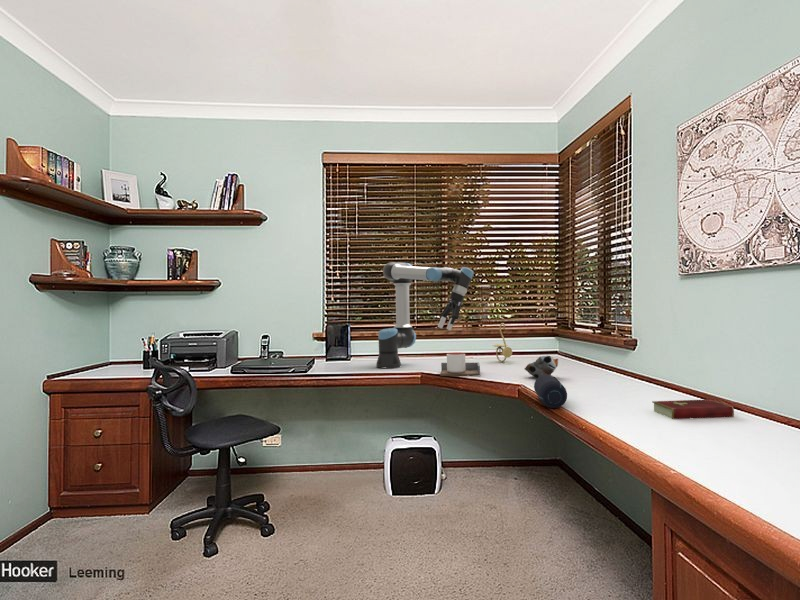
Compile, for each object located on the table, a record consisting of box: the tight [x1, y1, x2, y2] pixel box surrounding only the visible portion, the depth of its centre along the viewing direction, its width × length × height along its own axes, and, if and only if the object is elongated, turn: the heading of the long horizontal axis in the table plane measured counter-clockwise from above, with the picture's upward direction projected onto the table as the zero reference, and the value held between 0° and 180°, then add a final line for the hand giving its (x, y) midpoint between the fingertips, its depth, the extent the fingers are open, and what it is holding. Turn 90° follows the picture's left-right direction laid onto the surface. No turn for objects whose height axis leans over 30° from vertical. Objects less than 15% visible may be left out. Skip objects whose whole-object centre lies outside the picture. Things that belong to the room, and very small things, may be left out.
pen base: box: [439, 370, 481, 377], centre depth 275 cm, size 15×21×1 cm
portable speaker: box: [533, 374, 568, 409], centre depth 195 cm, size 25×10×10 cm, turn 172°
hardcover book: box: [651, 398, 735, 420], centre depth 172 cm, size 12×21×4 cm, turn 93°
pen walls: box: [440, 362, 481, 375], centre depth 275 cm, size 15×21×4 cm
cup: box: [446, 352, 466, 373], centre depth 274 cm, size 10×10×10 cm
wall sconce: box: [492, 322, 513, 363], centre depth 321 cm, size 14×10×25 cm
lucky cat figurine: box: [524, 355, 559, 379], centre depth 257 cm, size 15×12×14 cm
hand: (444, 328), depth 283 cm, fingers open, 13 cm apart
